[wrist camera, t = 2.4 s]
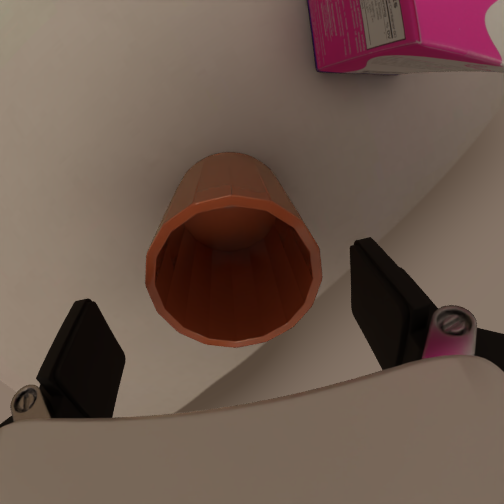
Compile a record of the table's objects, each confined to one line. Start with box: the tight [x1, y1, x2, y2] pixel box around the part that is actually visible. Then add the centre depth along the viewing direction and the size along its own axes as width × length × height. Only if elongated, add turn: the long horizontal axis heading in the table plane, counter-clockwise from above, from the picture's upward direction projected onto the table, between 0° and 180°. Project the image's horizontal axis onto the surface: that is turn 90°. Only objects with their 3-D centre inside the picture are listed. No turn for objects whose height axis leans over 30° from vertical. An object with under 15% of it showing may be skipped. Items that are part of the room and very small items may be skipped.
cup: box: [145, 152, 322, 348], centre depth 16 cm, size 7×7×9 cm
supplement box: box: [307, 0, 504, 75], centre depth 10 cm, size 6×6×12 cm
